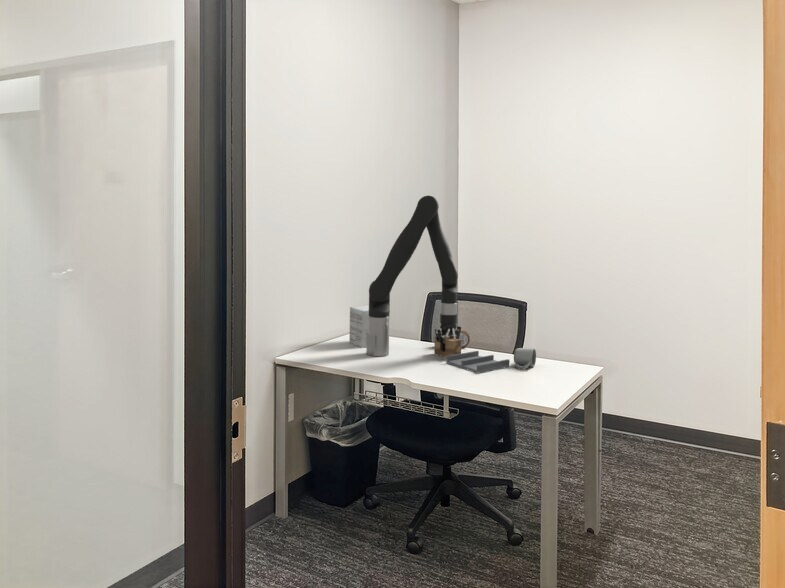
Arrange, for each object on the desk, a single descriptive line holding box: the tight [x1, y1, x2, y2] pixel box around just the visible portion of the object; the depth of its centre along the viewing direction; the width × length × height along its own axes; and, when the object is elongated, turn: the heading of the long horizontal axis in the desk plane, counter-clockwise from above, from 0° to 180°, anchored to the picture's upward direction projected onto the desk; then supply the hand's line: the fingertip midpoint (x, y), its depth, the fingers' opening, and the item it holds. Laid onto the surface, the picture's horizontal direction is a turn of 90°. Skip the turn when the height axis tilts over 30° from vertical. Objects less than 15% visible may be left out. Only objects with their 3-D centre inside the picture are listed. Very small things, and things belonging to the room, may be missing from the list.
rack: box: [446, 350, 510, 374], centre depth 258 cm, size 18×19×3 cm
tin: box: [444, 329, 471, 349], centre depth 290 cm, size 15×3×8 cm, turn 84°
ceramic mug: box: [513, 347, 537, 370], centre depth 257 cm, size 11×8×8 cm
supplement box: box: [348, 305, 369, 348], centre depth 293 cm, size 13×13×18 cm
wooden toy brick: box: [433, 335, 462, 358], centre depth 273 cm, size 5×12×8 cm, turn 38°
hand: (447, 350), depth 273 cm, fingers closed on wooden toy brick, 5 cm apart
